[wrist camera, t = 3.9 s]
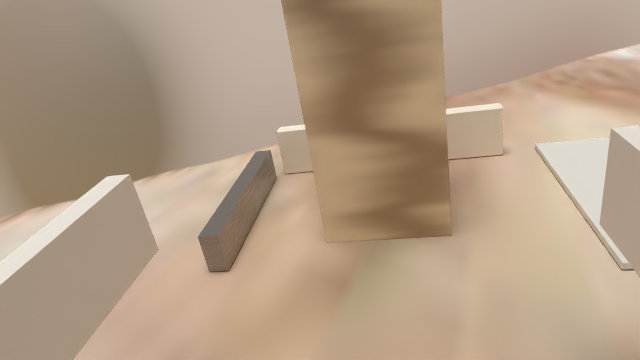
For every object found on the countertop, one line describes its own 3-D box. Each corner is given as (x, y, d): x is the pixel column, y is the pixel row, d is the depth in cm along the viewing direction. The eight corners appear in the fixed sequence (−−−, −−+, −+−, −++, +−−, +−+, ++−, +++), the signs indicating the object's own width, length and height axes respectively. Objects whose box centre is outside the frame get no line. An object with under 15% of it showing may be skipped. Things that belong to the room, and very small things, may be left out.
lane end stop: (276, 177, 30) (270, 150, 29) (228, 270, 21) (218, 235, 21) (262, 178, 30) (256, 151, 30) (209, 271, 22) (197, 236, 21)
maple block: (439, 178, 26) (427, -47, 21) (451, 235, 21) (438, -46, 16) (339, 186, 28) (305, -25, 22) (326, 242, 22) (277, -18, 17)
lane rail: (499, 148, 29) (499, 103, 27) (502, 154, 28) (503, 108, 27) (288, 167, 32) (279, 127, 30) (285, 173, 31) (276, 132, 29)
